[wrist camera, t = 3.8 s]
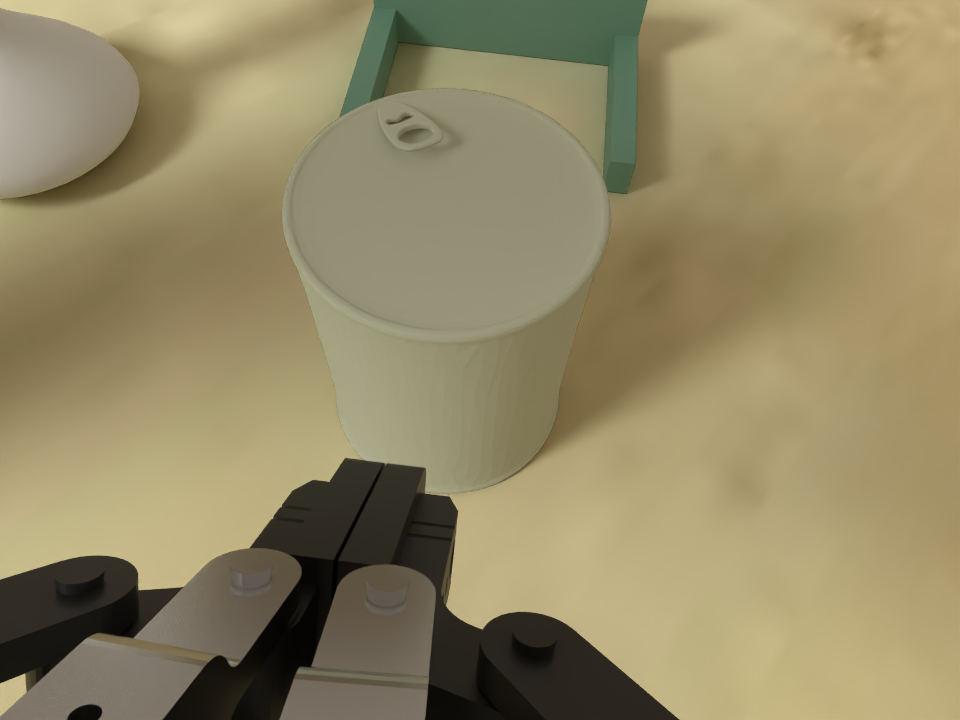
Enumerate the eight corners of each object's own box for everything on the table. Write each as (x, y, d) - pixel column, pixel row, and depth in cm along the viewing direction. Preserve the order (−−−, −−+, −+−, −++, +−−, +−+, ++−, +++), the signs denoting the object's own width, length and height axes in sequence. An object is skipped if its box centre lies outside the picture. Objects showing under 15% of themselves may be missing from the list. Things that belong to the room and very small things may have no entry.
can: (492, 269, 33) (512, 39, 22) (600, 432, 29) (685, 246, 19) (303, 346, 30) (227, 129, 20) (393, 536, 27) (358, 389, 16)
